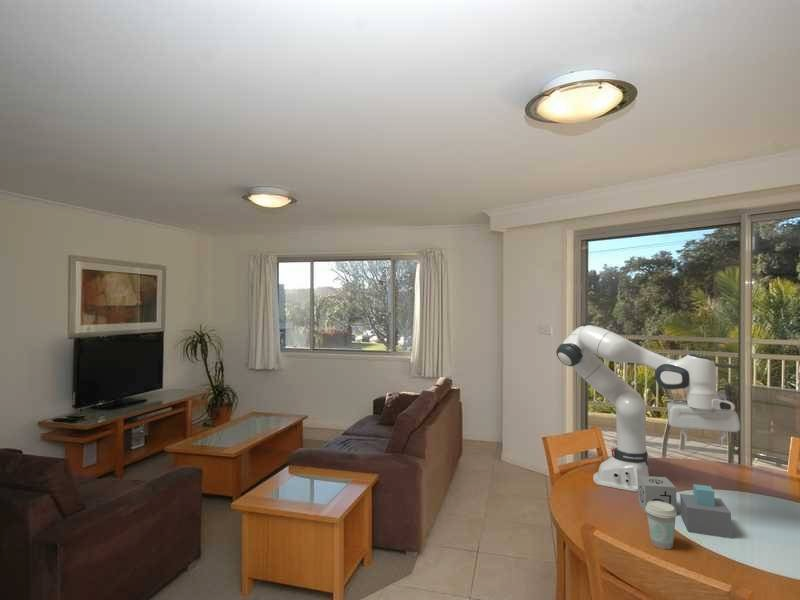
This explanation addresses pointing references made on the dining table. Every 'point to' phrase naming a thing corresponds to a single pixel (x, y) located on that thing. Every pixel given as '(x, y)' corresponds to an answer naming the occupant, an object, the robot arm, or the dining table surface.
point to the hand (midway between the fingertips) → (703, 442)
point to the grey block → (706, 517)
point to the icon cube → (656, 491)
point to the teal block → (703, 495)
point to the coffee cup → (661, 523)
